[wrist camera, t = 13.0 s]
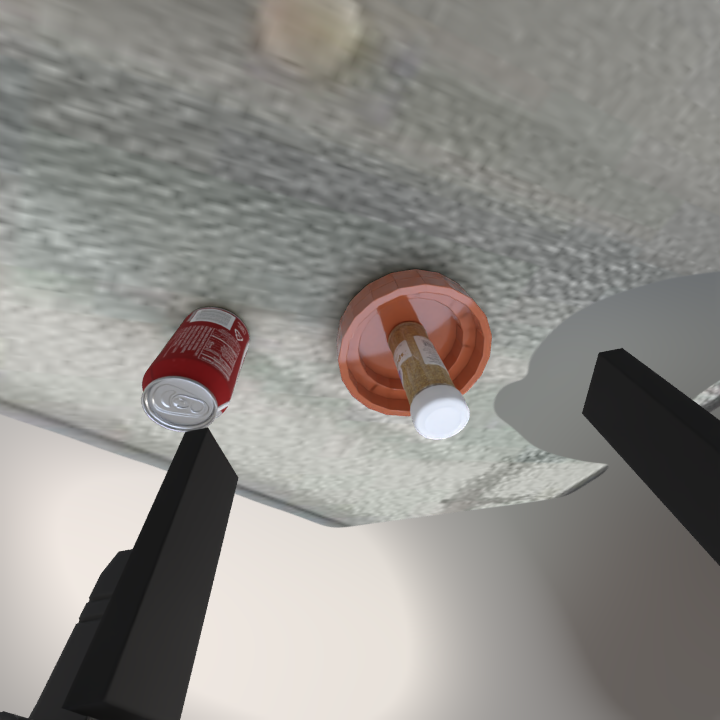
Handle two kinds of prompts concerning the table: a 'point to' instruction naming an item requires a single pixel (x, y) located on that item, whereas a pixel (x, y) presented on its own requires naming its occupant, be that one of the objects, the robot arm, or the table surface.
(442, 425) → the sprinkles bottle
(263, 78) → the table surface
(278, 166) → the table surface
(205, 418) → the soda can
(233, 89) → the table surface
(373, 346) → the bowl
